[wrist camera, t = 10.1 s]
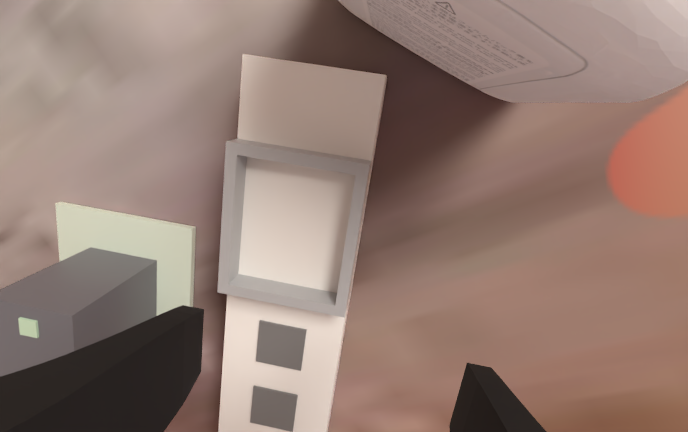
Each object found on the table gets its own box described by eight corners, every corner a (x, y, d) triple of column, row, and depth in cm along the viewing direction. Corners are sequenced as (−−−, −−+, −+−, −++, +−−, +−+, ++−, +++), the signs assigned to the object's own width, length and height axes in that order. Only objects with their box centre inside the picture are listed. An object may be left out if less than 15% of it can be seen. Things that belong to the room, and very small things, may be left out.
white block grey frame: (325, 446, 24) (313, 504, 21) (233, 425, 25) (206, 478, 21) (387, 78, 18) (385, 72, 15) (262, 60, 19) (231, 50, 15)
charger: (156, 336, 23) (76, 414, 17) (93, 323, 24) (-5, 395, 18) (156, 260, 22) (70, 317, 16) (90, 247, 22) (-19, 298, 16)
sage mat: (190, 377, 24) (187, 381, 24) (71, 351, 25) (66, 355, 25) (195, 226, 21) (192, 228, 21) (61, 201, 22) (55, 203, 22)
